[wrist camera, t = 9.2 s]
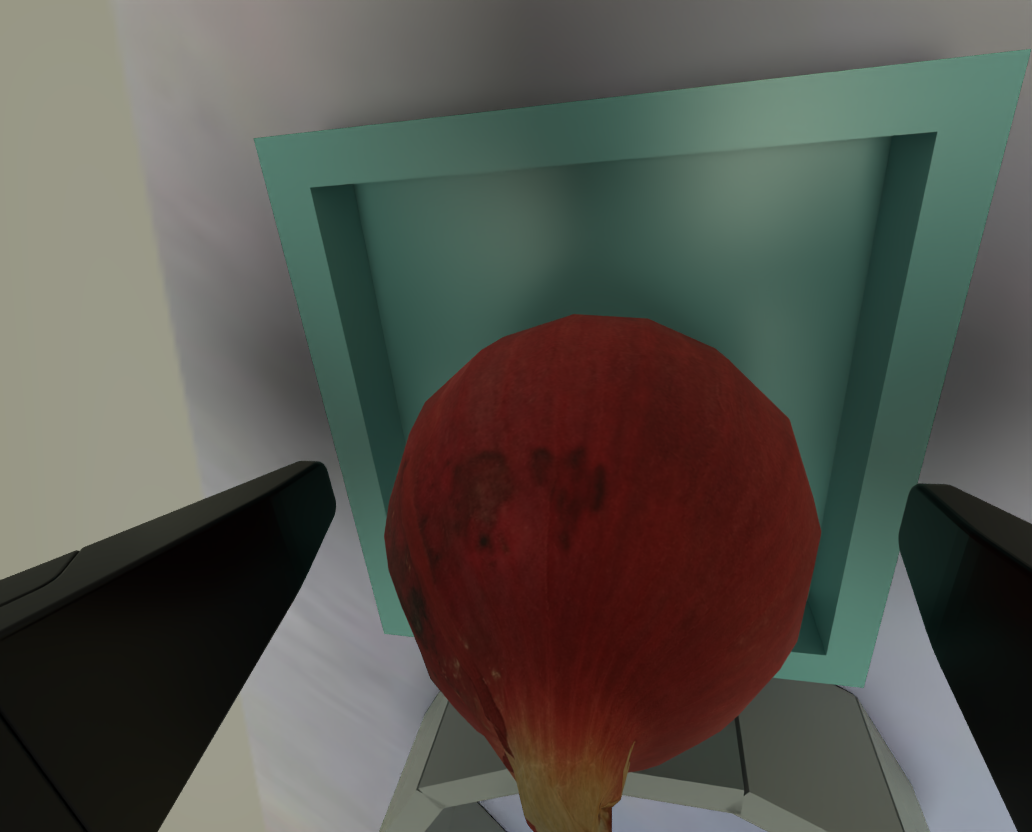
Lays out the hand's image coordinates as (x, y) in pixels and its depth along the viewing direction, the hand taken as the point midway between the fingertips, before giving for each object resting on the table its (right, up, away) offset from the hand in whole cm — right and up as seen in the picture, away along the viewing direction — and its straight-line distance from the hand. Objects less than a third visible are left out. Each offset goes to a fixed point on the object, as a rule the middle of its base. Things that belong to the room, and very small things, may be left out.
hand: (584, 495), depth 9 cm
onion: (+1, +1, +3) cm, 3 cm away
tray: (+1, +2, +3) cm, 4 cm away
